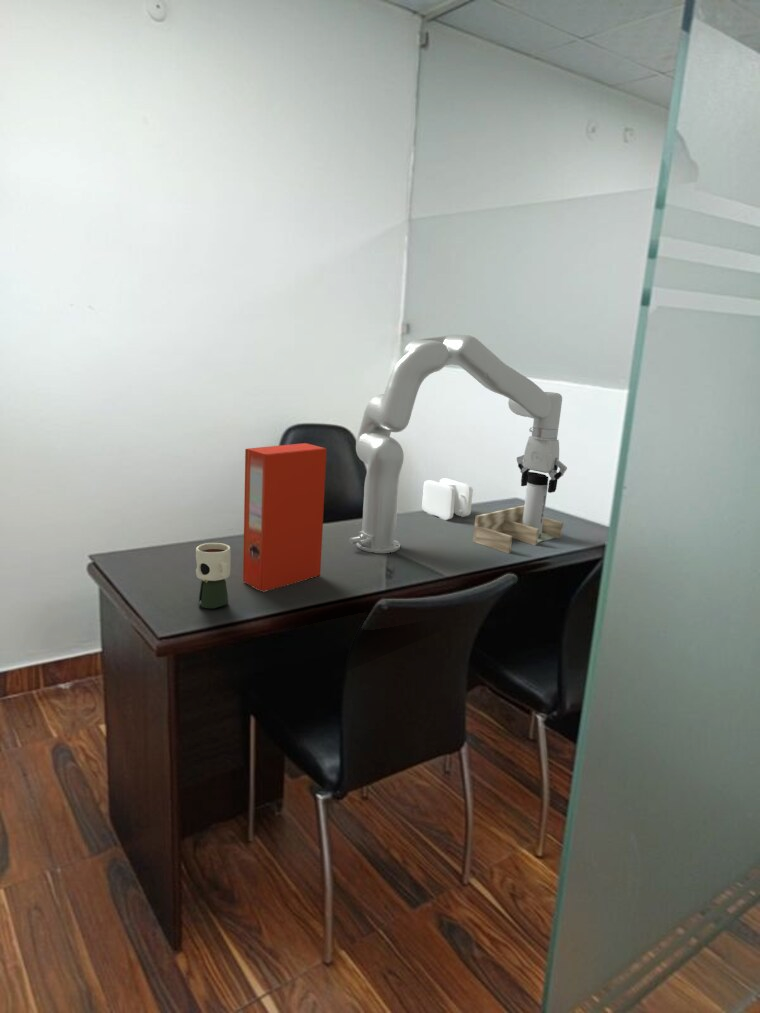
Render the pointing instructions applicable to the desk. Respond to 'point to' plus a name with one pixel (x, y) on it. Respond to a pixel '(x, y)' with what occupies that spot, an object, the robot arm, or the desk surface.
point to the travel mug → (535, 500)
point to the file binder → (283, 514)
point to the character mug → (213, 573)
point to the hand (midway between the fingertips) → (537, 488)
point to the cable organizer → (447, 498)
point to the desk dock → (511, 529)
